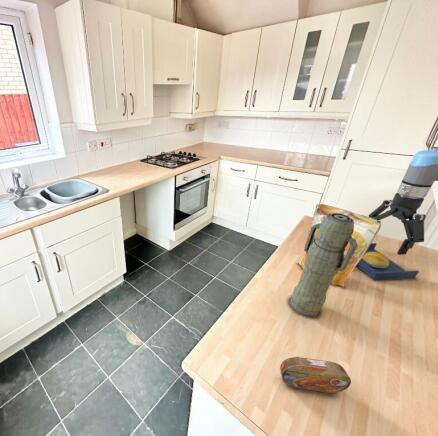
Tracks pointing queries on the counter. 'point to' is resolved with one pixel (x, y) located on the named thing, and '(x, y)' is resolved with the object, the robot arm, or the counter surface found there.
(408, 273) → the scoop
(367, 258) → the bread roll
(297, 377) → the tin
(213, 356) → the counter surface
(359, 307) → the counter surface
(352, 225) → the thermos
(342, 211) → the pancake mix bag
